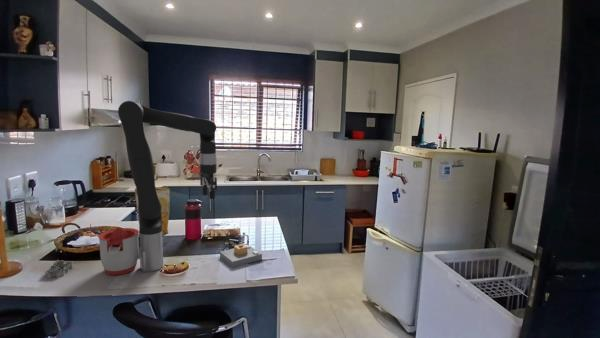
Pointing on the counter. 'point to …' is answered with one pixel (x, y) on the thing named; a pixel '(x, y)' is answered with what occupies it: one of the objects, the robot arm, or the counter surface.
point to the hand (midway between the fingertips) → (208, 196)
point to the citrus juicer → (119, 250)
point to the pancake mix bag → (164, 198)
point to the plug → (240, 249)
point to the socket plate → (240, 257)
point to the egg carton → (59, 268)
